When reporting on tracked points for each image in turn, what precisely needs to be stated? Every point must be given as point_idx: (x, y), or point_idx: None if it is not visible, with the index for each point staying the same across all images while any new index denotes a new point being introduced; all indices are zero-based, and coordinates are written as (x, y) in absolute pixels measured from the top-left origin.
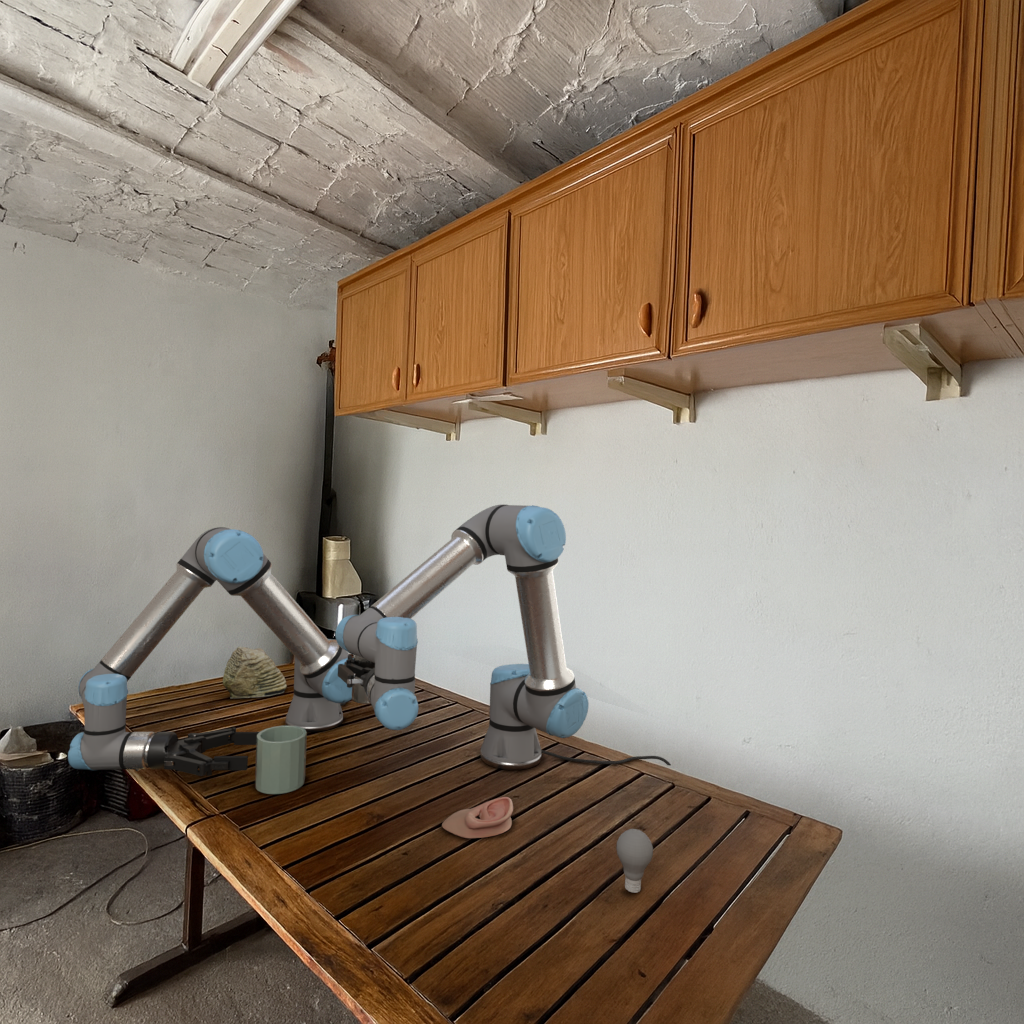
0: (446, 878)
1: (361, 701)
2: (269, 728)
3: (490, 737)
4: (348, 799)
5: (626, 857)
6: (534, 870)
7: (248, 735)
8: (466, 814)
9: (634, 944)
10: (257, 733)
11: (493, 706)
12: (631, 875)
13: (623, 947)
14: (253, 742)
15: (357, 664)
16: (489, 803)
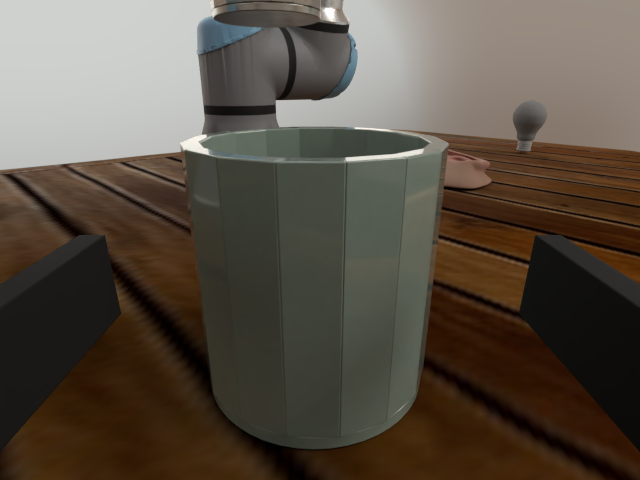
0: (592, 190)
1: (315, 9)
2: (213, 152)
3: None
4: None
5: (545, 118)
6: (525, 168)
7: (31, 311)
8: (467, 162)
9: (593, 156)
10: (77, 257)
11: (248, 79)
12: (535, 135)
13: (602, 158)
14: (75, 342)
15: None
16: None
